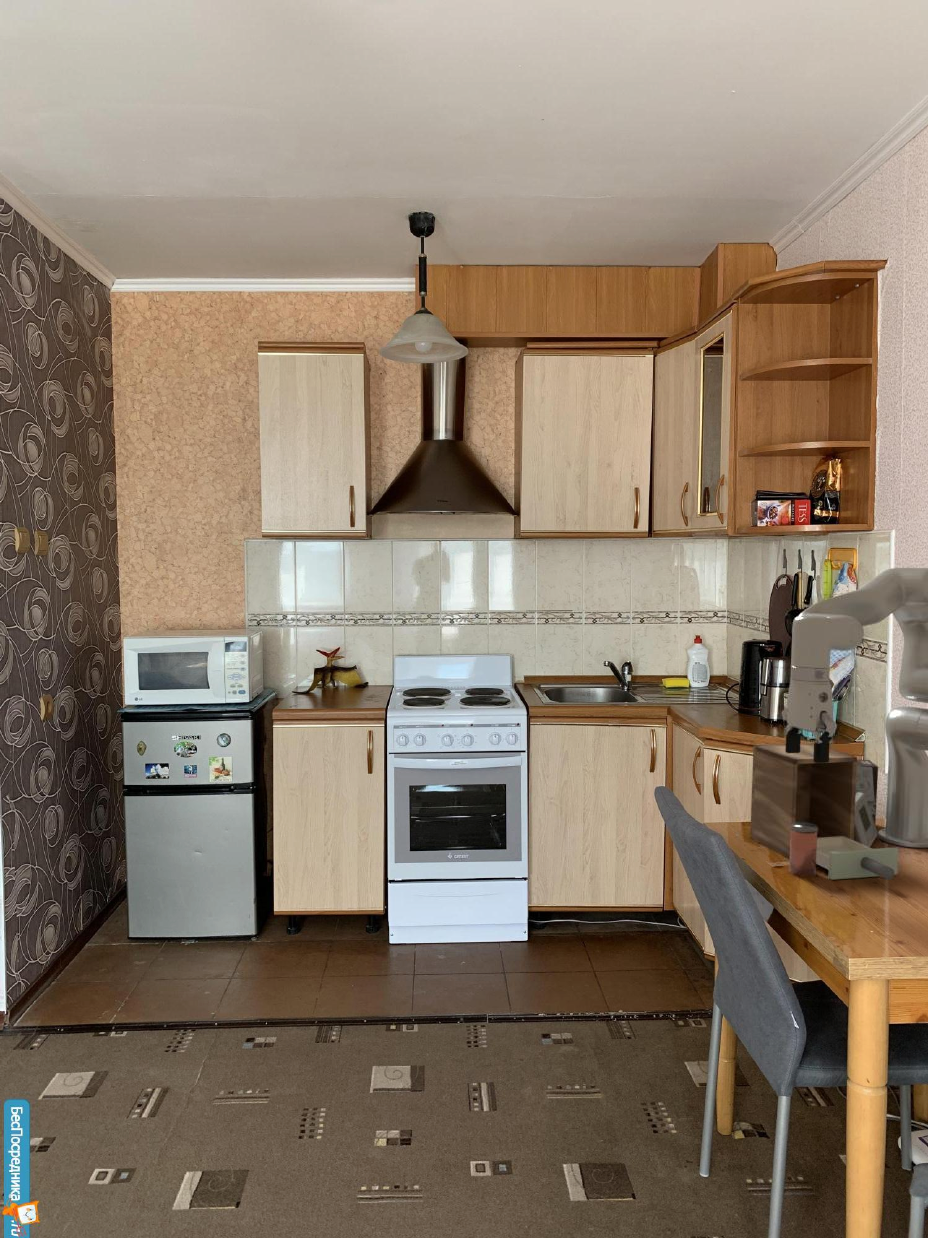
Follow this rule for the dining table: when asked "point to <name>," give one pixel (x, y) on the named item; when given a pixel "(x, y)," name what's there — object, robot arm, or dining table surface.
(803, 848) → the tea tin
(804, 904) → the dining table surface
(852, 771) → the drawer cabinet
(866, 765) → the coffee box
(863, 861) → the green drawer
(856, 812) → the digital clock
